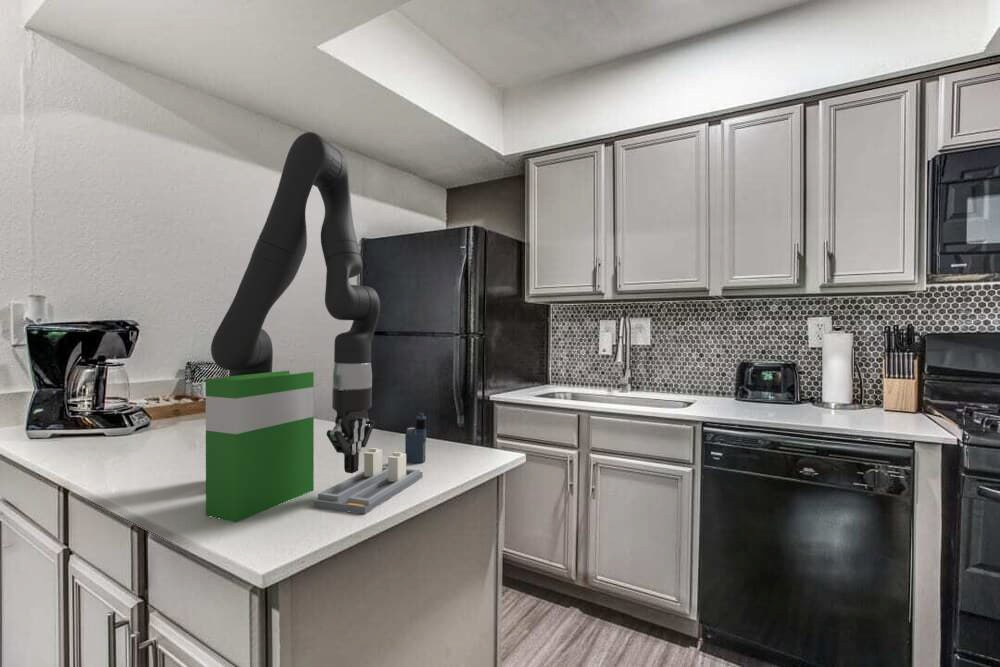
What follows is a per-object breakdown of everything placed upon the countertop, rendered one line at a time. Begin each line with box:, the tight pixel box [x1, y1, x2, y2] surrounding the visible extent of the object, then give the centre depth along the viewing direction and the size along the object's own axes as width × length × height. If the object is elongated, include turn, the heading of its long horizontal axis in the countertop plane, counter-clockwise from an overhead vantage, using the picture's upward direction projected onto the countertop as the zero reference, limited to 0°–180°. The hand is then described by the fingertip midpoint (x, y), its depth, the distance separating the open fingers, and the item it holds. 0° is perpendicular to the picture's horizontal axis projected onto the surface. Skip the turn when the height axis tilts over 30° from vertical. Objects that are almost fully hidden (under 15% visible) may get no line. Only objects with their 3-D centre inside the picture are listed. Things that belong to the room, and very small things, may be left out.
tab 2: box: [387, 451, 407, 482], centre depth 101 cm, size 2×4×6 cm, turn 162°
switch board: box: [313, 465, 424, 515], centre depth 98 cm, size 11×22×2 cm, turn 162°
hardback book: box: [205, 370, 315, 523], centre depth 91 cm, size 18×7×24 cm, turn 157°
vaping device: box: [404, 412, 427, 464], centre depth 119 cm, size 3×5×12 cm, turn 79°
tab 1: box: [363, 447, 383, 477], centre depth 104 cm, size 2×4×6 cm, turn 162°
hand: (351, 471), depth 97 cm, fingers closed
